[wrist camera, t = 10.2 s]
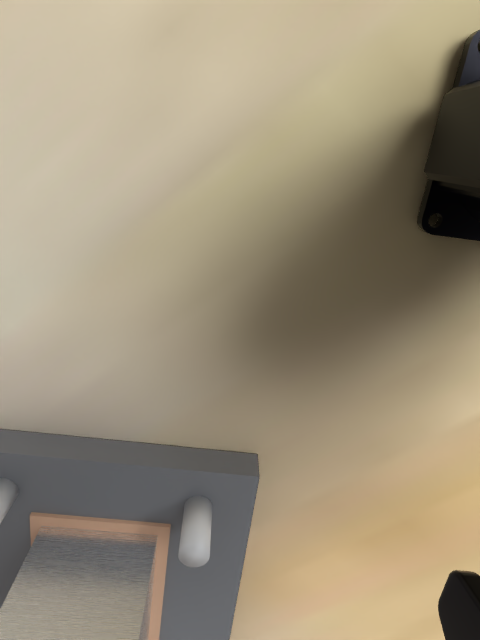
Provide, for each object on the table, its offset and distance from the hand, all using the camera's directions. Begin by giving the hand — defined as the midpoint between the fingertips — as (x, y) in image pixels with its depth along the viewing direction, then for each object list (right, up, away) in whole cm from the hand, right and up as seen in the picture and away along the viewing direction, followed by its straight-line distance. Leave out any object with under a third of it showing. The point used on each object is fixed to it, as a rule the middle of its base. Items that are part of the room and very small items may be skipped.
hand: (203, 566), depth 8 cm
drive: (-6, -9, +13) cm, 17 cm away
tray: (-6, -8, +15) cm, 18 cm away
